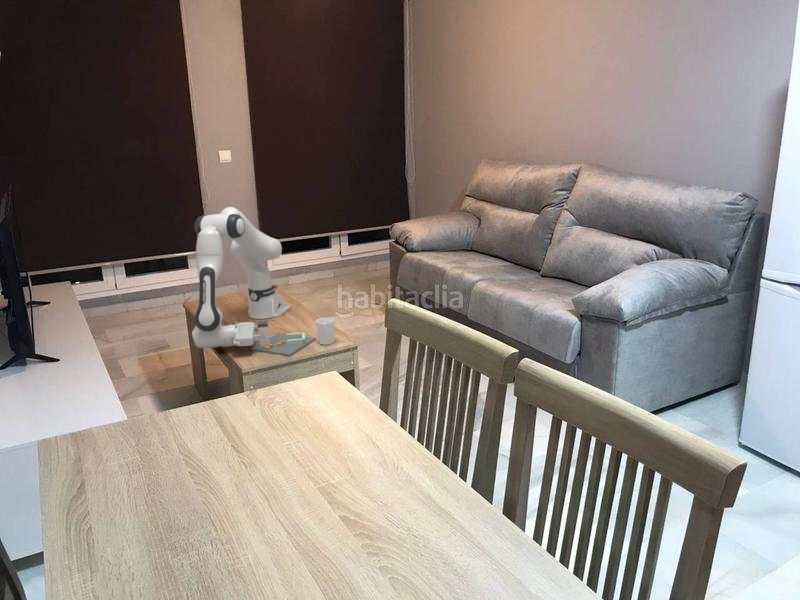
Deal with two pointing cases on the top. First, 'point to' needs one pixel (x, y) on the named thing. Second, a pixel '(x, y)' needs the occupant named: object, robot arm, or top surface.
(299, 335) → the end holder
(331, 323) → the white cup
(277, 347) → the board
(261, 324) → the beige container
